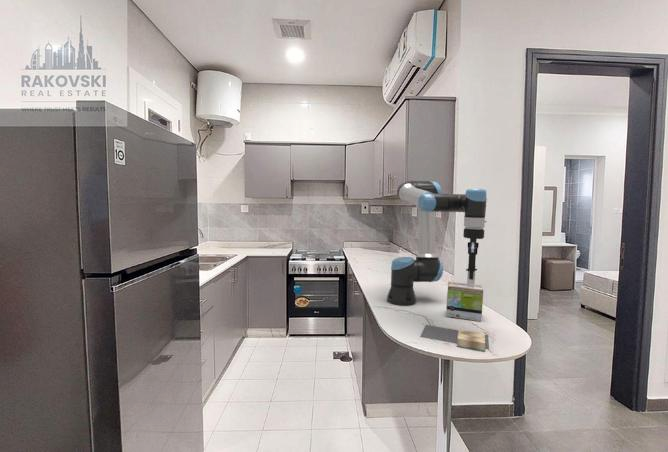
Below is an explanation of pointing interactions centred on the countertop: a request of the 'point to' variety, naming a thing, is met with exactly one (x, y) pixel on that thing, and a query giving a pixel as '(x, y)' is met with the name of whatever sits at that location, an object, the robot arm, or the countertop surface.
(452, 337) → the mat
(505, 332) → the countertop surface
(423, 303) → the countertop surface
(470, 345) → the tile
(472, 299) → the tea box
